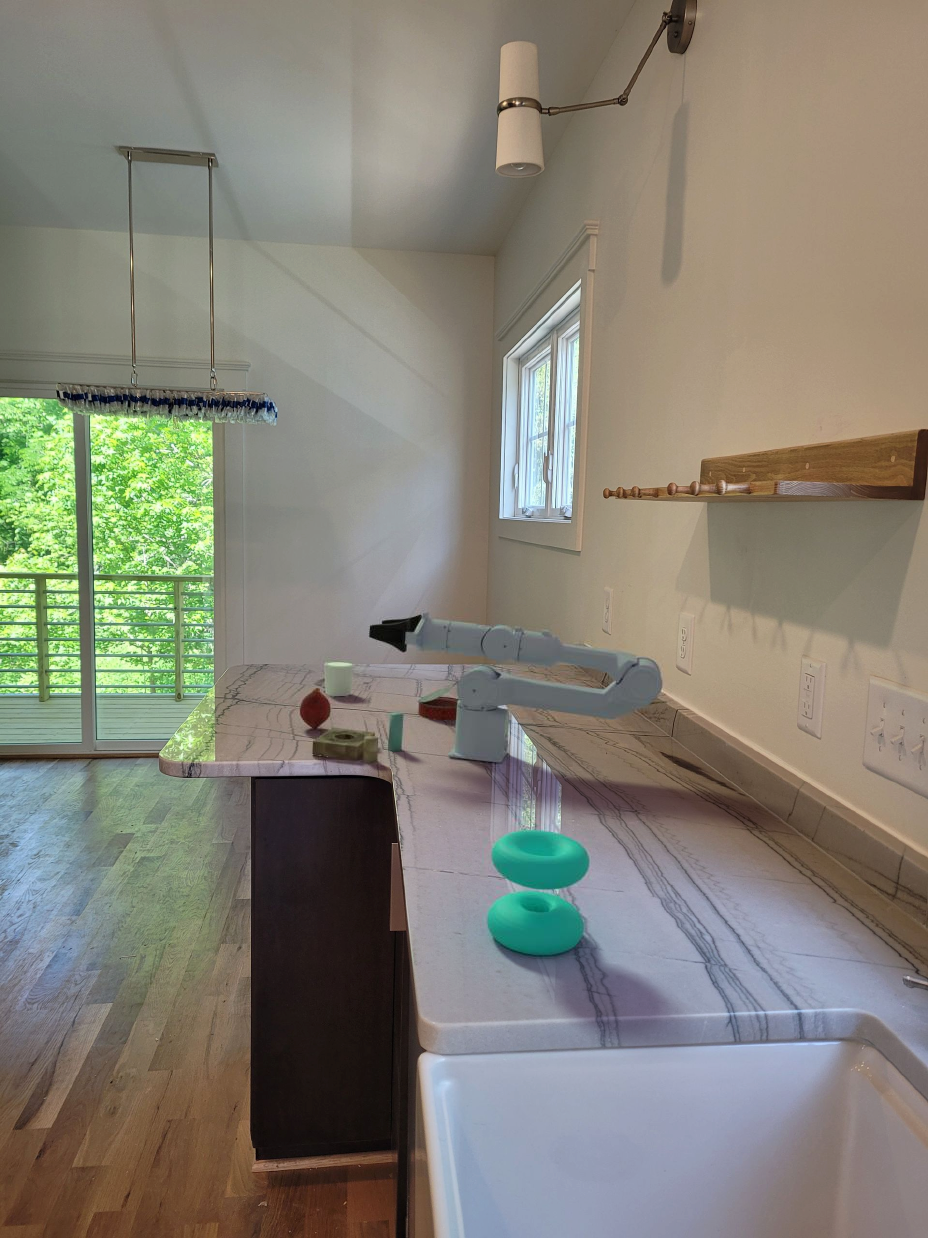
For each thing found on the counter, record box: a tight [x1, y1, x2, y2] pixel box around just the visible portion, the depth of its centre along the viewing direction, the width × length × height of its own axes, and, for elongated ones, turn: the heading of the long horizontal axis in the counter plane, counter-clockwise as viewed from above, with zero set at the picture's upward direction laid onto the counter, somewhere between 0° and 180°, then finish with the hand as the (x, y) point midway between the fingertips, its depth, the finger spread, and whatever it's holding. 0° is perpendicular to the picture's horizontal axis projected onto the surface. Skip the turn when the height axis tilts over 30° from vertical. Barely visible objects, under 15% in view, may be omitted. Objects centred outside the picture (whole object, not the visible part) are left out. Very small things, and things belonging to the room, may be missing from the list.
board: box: [311, 727, 376, 762], centre depth 153 cm, size 8×10×2 cm
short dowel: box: [362, 735, 379, 764], centre depth 148 cm, size 2×2×4 cm
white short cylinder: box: [323, 661, 355, 697], centre depth 198 cm, size 7×7×7 cm
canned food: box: [418, 680, 459, 721], centre depth 184 cm, size 11×10×10 cm
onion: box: [299, 686, 332, 729], centre depth 167 cm, size 6×6×8 cm
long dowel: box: [387, 711, 405, 752], centre depth 156 cm, size 2×2×6 cm
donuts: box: [486, 829, 590, 956], centre depth 90 cm, size 10×10×10 cm
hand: (376, 628), depth 157 cm, fingers open, 7 cm apart
